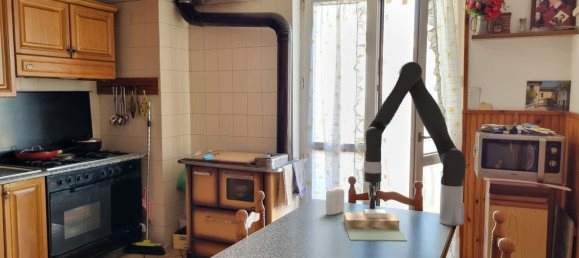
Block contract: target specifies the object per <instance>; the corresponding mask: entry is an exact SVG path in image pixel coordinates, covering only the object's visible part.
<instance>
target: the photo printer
mask: <svg viewBox="0 0 579 258" xmlns="http://www.w3.org/2000/svg"><path fill="white" fill-rule="evenodd" d="M325 195H326V196H325V197H326V198H325V214H327V215H328V216H333V215H337V214H340V213H344V212H345V189H344V188H342V187H339V186H335V187H334V186H333V187H332V188H330V189H328V190H327V191H326V193H325Z"/></svg>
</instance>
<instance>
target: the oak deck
mask: <svg viewBox="0 0 579 258" xmlns="http://www.w3.org/2000/svg"><path fill="white" fill-rule="evenodd" d="M386 213H387V218H366V217H365V215H364V211H363V212H362V211H361V212H356V211H354V212H349V211H348V212H347V211H346V212H345V211H344V212H343V223H344V225H345V229H346V230H347V229H396V230H400V219H399V218H398V217H397V215H396V214H395V213H394V212H386Z"/></svg>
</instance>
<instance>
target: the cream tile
mask: <svg viewBox="0 0 579 258" xmlns="http://www.w3.org/2000/svg"><path fill="white" fill-rule="evenodd" d="M363 212H364V215H365V217H366V218H387V213H388V212H387V211H386V209H377V208H375V209H370V208H368V209H366V208H364V209H363Z"/></svg>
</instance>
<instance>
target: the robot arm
mask: <svg viewBox="0 0 579 258" xmlns="http://www.w3.org/2000/svg"><path fill="white" fill-rule="evenodd" d="M422 74H423V69H422V66H421V65H420V64H419V62H417V61H407V62H405V63H403V64H402V65H401V66H400V68H399V70H398V75H399V76H398V78H397V80H396V83H395V85H394V87H393V88H392V90H391V91H390V93H389V94H388V96H387V97H386V98H385V100H384V101H383V102H382V104H381V106H380V108H379V110H378V111H377V112H376V114H375V117H374V119H373V120H372V122H371V123H370V124H369V126H368V127H367V129H366V131H365V158H364V159H365V161H364V171H363V172H364V174H363V175H364V179H363V180H364V182H366V183H368V184H367V190H368V191H367V194H368V200H369V209H376V201H377V199H378V192H379V191H378V190H379V189H378V187H379V186H378V183H381V182H382V142H383V141H382V140H383V139H382V138H383V133H384V131H385V130H386V128H387V127H388V126H389V125H390V123H391V122H392V120H393V118H394V117H395V115H396V113H397V112H398V110H399V108H400V107H401V105H402V103H403V101H404V99H405V97H406V96H407V94H408V93H409V94H410V96H411V99H412V102H413V104H414V107H415V109H416V112H417V114H418V116H419V118H420V120H421V123H422V124H423V127H424V129H426V130H425V131H426V132H427V133H428V135H429V137H430V138H431V139H432V143H433V144H434V146H435V148H436V151H437V154H438V157H439V159H440V162H441V164H442V176H441V178H440V192H439V193H440V197H439V223H440V224H442V225H446V226H463V225H464V221H465V220H464V217H465V214H464V213H465V203H464V202H463V198H464V197H463V195H464V181H465V176H466V163H467V162H466V156H465V154H464V153H463V152H462V151H461V150H460V149H458V148H457V146H456V145H455V143H454V142H453V140H452V138H451V136H450V134H449V131H448V127H447V122H446V118H445V116H444V115H443V112H442V110H441V108H440V106H439V104H438V102H437V101H436V100H435V98H434V97H433V95H432V94H431V93H430V91H429V90H428V88H427V87H426V85H425V84H426V83H424V80H423V77H422Z"/></svg>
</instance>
